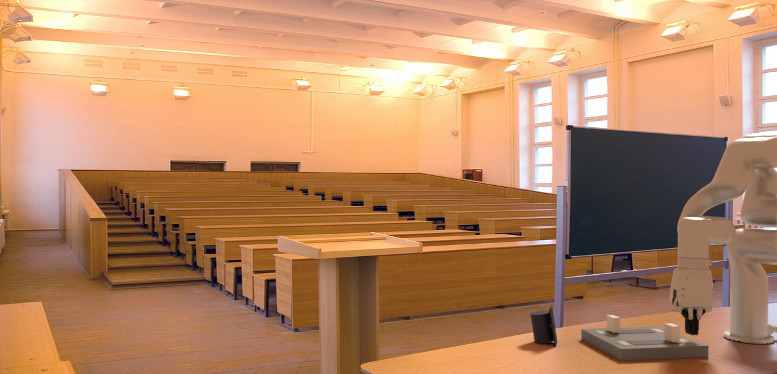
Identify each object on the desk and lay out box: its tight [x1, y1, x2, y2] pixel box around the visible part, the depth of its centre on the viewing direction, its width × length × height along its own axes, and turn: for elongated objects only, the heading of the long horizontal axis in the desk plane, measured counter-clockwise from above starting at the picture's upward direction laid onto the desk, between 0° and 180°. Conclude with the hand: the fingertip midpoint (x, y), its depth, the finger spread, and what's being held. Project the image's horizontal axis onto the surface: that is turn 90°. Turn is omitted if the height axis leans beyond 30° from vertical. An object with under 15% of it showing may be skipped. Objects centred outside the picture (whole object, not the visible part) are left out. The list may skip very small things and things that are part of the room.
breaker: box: [606, 314, 621, 332], centre depth 178 cm, size 2×4×4 cm, turn 9°
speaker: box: [529, 304, 558, 347], centre depth 178 cm, size 8×6×10 cm
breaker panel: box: [580, 326, 709, 362], centre depth 173 cm, size 24×22×3 cm
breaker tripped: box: [664, 322, 681, 342], centre depth 168 cm, size 2×4×4 cm, turn 9°
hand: (691, 333), depth 168 cm, fingers closed
